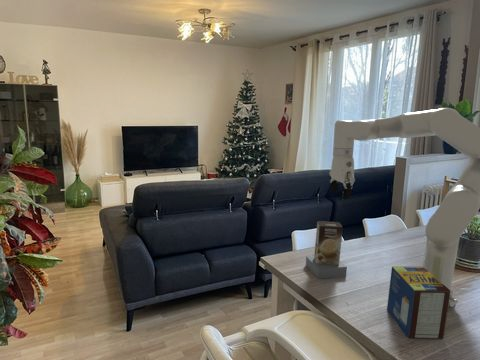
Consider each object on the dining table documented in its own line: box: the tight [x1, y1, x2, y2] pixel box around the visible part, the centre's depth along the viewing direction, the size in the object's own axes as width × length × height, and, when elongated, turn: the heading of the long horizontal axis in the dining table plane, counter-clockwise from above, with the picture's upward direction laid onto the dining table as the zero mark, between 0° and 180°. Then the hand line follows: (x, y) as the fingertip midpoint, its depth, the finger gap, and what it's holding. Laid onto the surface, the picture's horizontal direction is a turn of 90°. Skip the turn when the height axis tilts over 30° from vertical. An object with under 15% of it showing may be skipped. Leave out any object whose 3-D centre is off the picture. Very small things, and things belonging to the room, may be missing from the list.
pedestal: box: [305, 255, 348, 279], centre depth 142 cm, size 12×12×4 cm
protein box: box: [386, 265, 450, 340], centre depth 107 cm, size 10×15×16 cm
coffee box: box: [313, 220, 344, 265], centre depth 140 cm, size 9×6×16 cm
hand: (340, 195), depth 138 cm, fingers open, 9 cm apart
